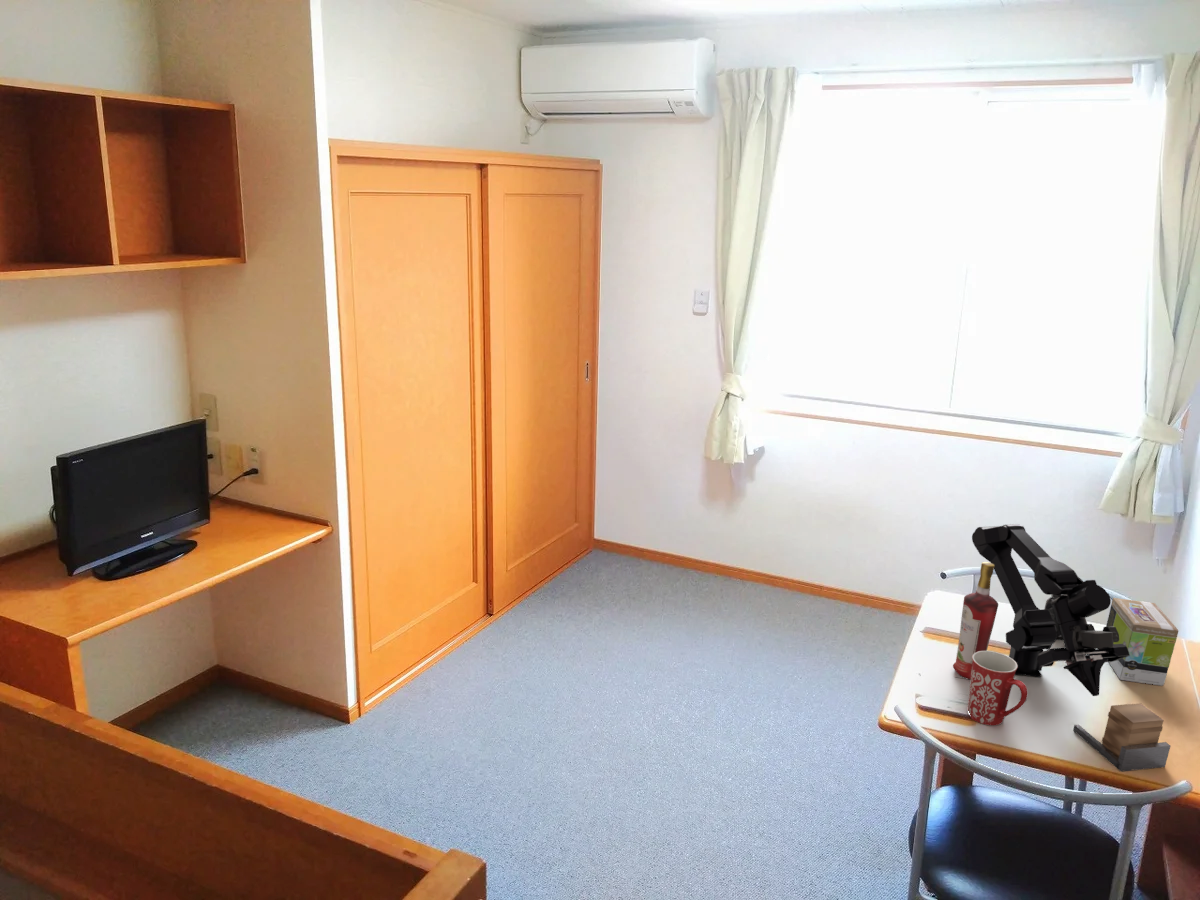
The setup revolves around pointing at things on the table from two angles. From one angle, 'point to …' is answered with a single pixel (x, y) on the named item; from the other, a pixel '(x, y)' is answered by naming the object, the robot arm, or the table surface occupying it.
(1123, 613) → the tea box
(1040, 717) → the table surface
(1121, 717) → the chest
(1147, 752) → the bay
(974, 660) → the mug
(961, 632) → the liquor
